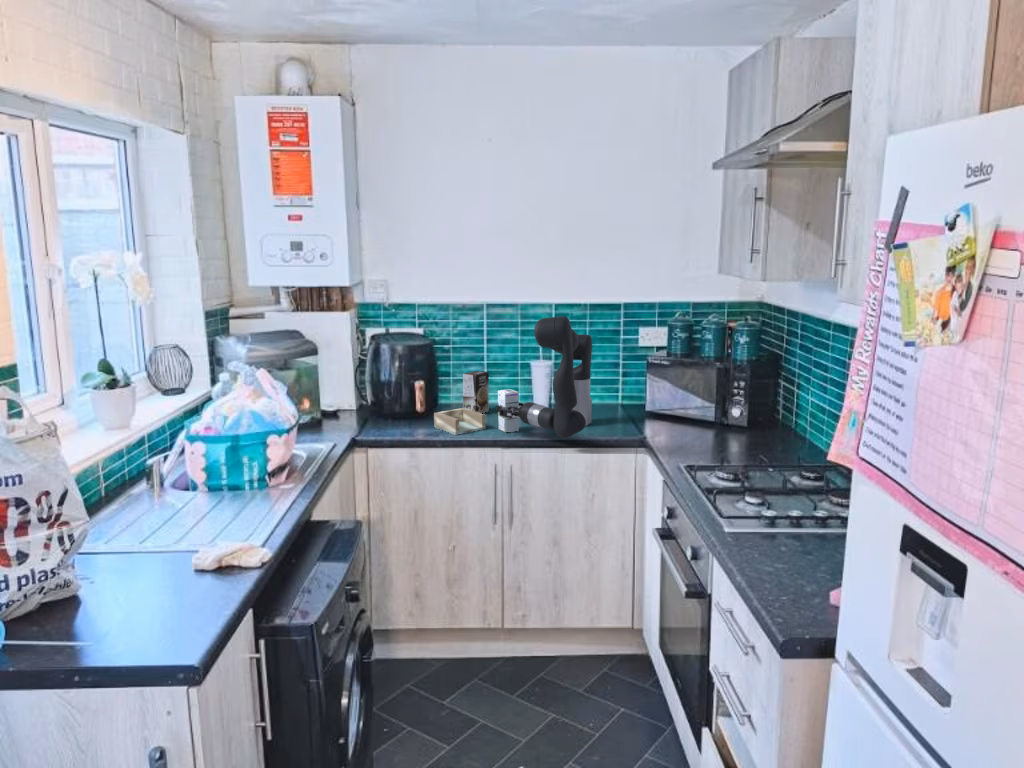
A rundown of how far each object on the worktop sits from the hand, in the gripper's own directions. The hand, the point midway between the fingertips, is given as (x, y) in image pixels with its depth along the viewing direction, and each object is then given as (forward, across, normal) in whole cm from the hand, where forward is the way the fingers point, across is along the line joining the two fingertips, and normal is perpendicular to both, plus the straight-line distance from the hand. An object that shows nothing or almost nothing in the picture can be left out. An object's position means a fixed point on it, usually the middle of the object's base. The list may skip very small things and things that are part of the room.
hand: (506, 406), depth 272 cm
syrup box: (-1, 0, +9) cm, 9 cm away
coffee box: (+28, -7, +9) cm, 30 cm away
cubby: (+12, +12, +8) cm, 19 cm away
